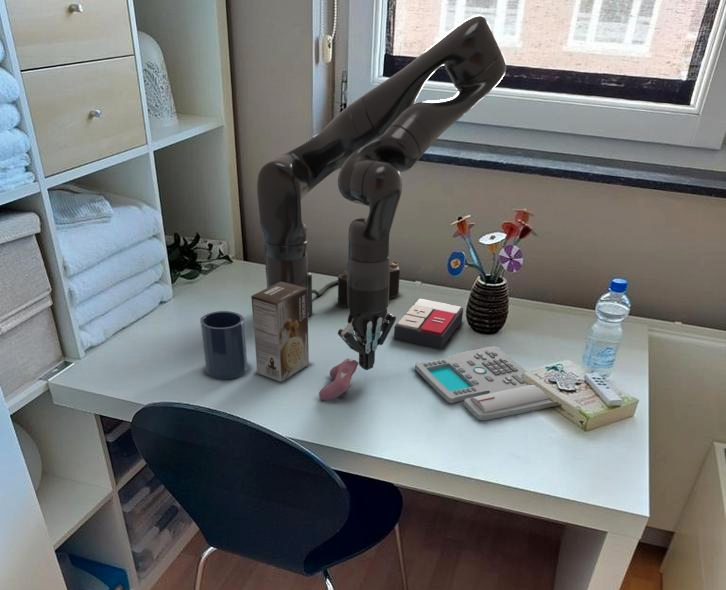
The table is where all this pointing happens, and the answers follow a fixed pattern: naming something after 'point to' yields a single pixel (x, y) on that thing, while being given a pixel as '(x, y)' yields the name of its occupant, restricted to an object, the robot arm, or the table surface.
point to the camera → (392, 284)
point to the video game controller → (339, 379)
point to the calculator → (428, 323)
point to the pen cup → (224, 344)
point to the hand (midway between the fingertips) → (366, 367)
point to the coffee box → (281, 330)
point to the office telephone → (484, 383)
